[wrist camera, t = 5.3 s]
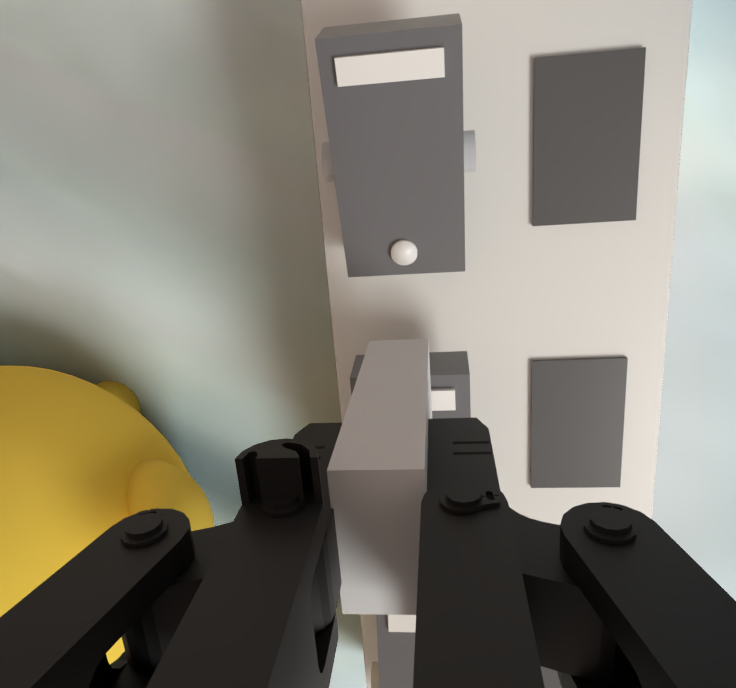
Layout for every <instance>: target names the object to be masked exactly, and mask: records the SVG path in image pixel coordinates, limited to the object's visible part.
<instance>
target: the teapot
mask: <svg viewBox="0 0 736 688" xmlns="http://www.w3.org/2000/svg"><path fill="white" fill-rule="evenodd" d="M156 508H159V509H174V510H177V511H180V512H183V513H184V514H185V515H186V516H187V517H188V518H189V520H190V526H191V531H195V530H200V529H205V528H210V527H214V519H213V514H212V510H211V507H210V504H209V502H208V500H207V498H206V496H205V494H204V492H203V490H202V489H201V488H200V487H199V485H198V484H197V483H196V482H195V480H194V479H193V478H192V477H191V476H190V474H189V473H188V471H187V469H186V467H185V466H184V464H183V462H182V460H181V459H180V457H179V456H178V455H177V453H176V452H175V450H174V449H173V448H172V446H171V445H170V444H169V442H168V441H167V440H166V438H165V437H164V436H163V435H162V434H161V433H160V432H159V431H158V430H157V429H156V428H155V427H154V426H153V424H152V423H150V422H149V421H148V420H147V419H146V418H145V417H143V416H142V415H141V407H140V403H139V401H138V398H137V397H136V395H135V394H134V393H133V392H132V390H130V389H129V388H128V387H127V386H125V385H123V384H121V383H118V382H115V381H104V382H100V383H98V384H96V385H95V384H92V383H90V382H87V381H85V380H82V379H80V378H78V377H75V376H73V375H69V374H65V373H62V372H58V371H54V370H51V369H45V368H38V367H31V366H0V617H1V616H2V615H4V614H5V613H6V612H7V611H8V610H10V609H11V608H12V607H13V606H15V605H16V604H17V603H18V602H19V601H21V600H22V599H23V598H24V597H26V596H27V595H28V594H29V593H30V592H32V591H33V590H34V589H35V588H37V587H38V586H39V585H40V584H41V583H43V582H44V581H45V580H46V579H48V578H49V577H50V576H51V575H53V574H54V573H55V572H56V571H57V570H59V569H60V568H61V567H62V566H64V565H65V564H66V563H67V562H68V561H70V560H71V559H72V558H73V557H75V556H76V555H77V554H78V553H79V552H81V551H82V550H83V549H84V548H86V547H87V546H88V545H89V544H90V543H92V542H93V541H94V540H95V539H97V538H98V537H99V536H100V535H101V534H103V533H104V532H105V531H106V530H108V529H109V528H110V527H111V526H113V525H114V524H116V523H118V522H119V521H121V520H122V519H124V518H126V517H129V516H131V515H134V514H136V513H138V512H140V511H144V510H150V509H156ZM124 651H125V649H124V645H123V641H122V637H121V638H120V639H119V640H118V641H117V642H116V643H115V644H114V645H113V646H112V647H111V648H110V650H109V651H108V652H107V653H106V656H107V659H108V662H109V664H111V663H113V662H114V661H115V660H117V659H118V658H119V657H120V656H121V655H122V653H123V652H124Z"/></svg>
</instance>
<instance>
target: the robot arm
mask: <svg viewBox="0 0 736 688" xmlns="http://www.w3.org/2000/svg"><path fill="white" fill-rule="evenodd" d="M235 463H236V469H237V475H238V481H239V488H240V494H241V500H242V506H241V508H240V510H239V512H238V514H237V516H236V518H235V519H234V521H233V522H230V523H227V524H223V525H219V526H215V527H210V528H205V529H200V530H195V531H191V526H190V520H189V518H188V517H187V516H186V515H185V514H184V513H183V512H180V511H177V510H174V509H159V508H156V509H150V510H144V511H140V512H138V513H136V514H134V515H131V516H129V517H126V518H124V519H122V520H121V521H119V522H118V523H116V524H114V525H113V526H111V527H110V528H109V529H108V530H106V531H105V532H104V533H103V534H101V535H100V536H99V537H98V538H97V539H95V540H94V541H93V542H92V543H90V544H89V545H88V546H87V547H86V548H84V549H83V550H82V551H81V552H79V553H78V554H77V555H76V556H75V557H73V558H72V559H71V560H70V561H68V562H67V563H66V564H65V565H64V566H62V567H61V568H60V569H59V570H57V571H56V572H55V573H54V574H53V575H51V576H50V577H49V578H48V579H46V580H45V581H44V582H43V583H41V584H40V585H39V586H38V587H37V588H35V589H34V590H33V591H32V592H30V593H29V594H28V595H27V596H26V597H24V598H23V599H22V600H21V601H19V602H18V603H17V604H16V605H15V606H13V607H12V608H11V609H10V610H8V611H7V612H6V613H5V614H4V615H2V616H1V617H0V688H329V684H330V678H331V673H332V668H333V663H334V657H335V652H336V647H337V642H338V627H337V618H336V607H337V602H338V597H339V593H340V596H341V605H342V614H380V615H416V629H415V652H414V675H413V688H545V687H544V682H543V676H542V671H541V666H542V667H545V668H549V669H552V670H556V671H557V673H558V677H559V681H560V684H561V686H562V688H736V601H735V600H734V599H733V598H732V597H731V596H730V595H729V594H728V593H727V592H726V591H725V590H724V589H723V588H722V587H721V586H720V585H719V584H718V583H717V582H716V581H715V580H714V579H713V578H711V577H710V576H709V575H708V574H707V573H706V572H705V571H704V570H703V569H702V568H701V567H700V566H699V565H698V564H697V563H696V562H695V561H694V560H693V559H692V558H691V557H690V556H689V555H688V554H687V553H686V552H685V551H684V550H683V549H682V548H681V547H680V546H679V545H678V544H677V543H676V542H675V541H674V540H673V539H672V538H671V537H670V536H669V535H668V534H667V533H666V532H665V531H664V530H663V529H662V528H661V527H660V526H659V525H658V524H657V523H656V522H655V521H653V520H652V519H650V518H649V517H648V516H646V515H645V514H643V513H642V512H640V511H637V510H635V509H632V508H629V507H627V506H624V505H620V504H616V503H614V504H613V503H609V502H597V503H585V504H582V505H578V506H575V507H572V508H571V509H570V510H568V511H567V512H566V513H564V514H563V517H562V520H561V523H560V525H557V524H552V523H547V522H542V521H538V520H535V519H531V518H528V517H526V516H524V515H521V514H519V513H518V512H516V511H515V510H513V509H512V508H510V507H509V505H508V501H507V499H506V497H505V496H504V494H503V493H502V492H501V491H500V486H499V481H498V475H497V470H496V465H495V459H494V454H493V449H492V444H491V438H490V433H489V428H488V427H487V426H485V425H484V424H483V423H482V422H481V421H480V420H479V419H478V418H437V419H432V400H431V379H430V358H429V338H428V339H404V340H380V341H369V344H368V347H367V350H366V353H365V356H364V359H363V362H362V365H361V368H360V371H359V374H358V377H357V380H356V384H355V387H354V390H353V393H352V396H351V399H350V402H349V405H348V408H347V411H346V414H345V417H344V420H343V423H310V424H308V425H307V426H306V427H304V428H303V429H302V430H300V431H299V432H298V433H297V434H295V436H294V438H293V439H278V440H270V441H266V442H263V443H259V444H256V445H254V446H252V447H250V448H248V449H246V450H244V451H242V452H241V453H240V454H239V455H238V456H237V457H236V458H235ZM121 637H122V641H123V645H124V649H125V651H124V652H123V653H122V655H121V656H120V657H119V658H118V659H117V660H115V661H114V662H113V663H111V664H109V662H108V659H107V656H106V653H107V652H108V651H109V650H110V648H111V647H112V646H113V645H114V644H115V643H116V642H117V641H118V640H119V639H120V638H121Z"/></svg>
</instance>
